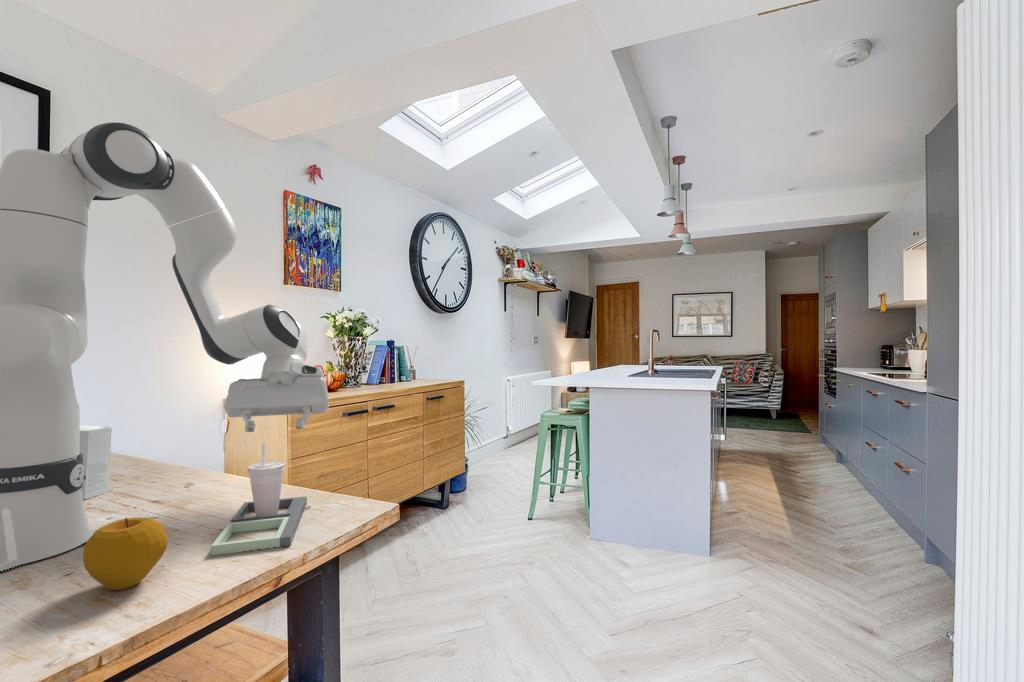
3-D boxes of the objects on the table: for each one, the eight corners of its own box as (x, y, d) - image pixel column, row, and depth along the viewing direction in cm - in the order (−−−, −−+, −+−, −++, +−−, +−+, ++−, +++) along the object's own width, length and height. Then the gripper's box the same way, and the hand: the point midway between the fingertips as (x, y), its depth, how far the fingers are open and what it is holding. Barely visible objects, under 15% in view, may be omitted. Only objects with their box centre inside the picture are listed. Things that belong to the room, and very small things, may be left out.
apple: (184, 571, 67) (184, 508, 67) (121, 605, 58) (121, 533, 58) (132, 565, 68) (132, 505, 68) (63, 598, 60) (63, 529, 60)
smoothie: (239, 518, 87) (239, 443, 87) (271, 507, 92) (271, 437, 92) (261, 524, 84) (261, 447, 84) (293, 513, 89) (292, 440, 89)
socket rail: (211, 555, 72) (211, 545, 72) (244, 509, 91) (244, 502, 91) (290, 545, 75) (290, 536, 75) (306, 503, 95) (306, 496, 95)
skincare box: (48, 499, 98) (48, 429, 98) (76, 490, 104) (76, 424, 104) (86, 500, 97) (86, 429, 98) (112, 491, 103) (112, 424, 104)
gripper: (228, 370, 100) (214, 422, 91) (329, 368, 107) (326, 417, 97) (233, 389, 105) (221, 441, 95) (330, 385, 111) (327, 434, 101)
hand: (274, 429), depth 96 cm, fingers open, 8 cm apart
